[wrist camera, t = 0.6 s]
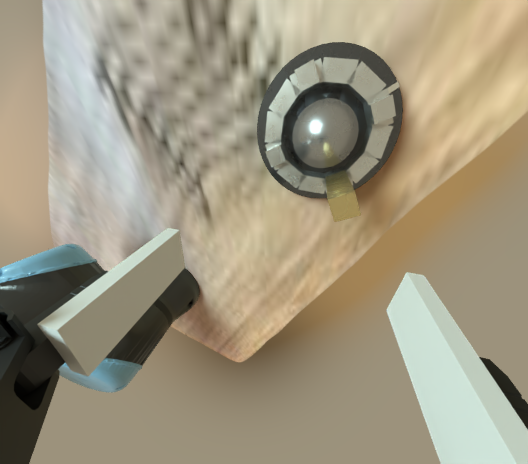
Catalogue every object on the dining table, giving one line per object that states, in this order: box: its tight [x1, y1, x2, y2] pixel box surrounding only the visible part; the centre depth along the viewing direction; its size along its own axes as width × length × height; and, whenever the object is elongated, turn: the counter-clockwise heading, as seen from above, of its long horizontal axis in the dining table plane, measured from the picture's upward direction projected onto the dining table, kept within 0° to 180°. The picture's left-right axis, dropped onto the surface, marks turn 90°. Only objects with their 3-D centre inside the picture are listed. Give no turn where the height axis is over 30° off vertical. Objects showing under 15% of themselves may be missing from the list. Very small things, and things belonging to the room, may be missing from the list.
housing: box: [257, 42, 403, 198], centre depth 26 cm, size 18×18×7 cm
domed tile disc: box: [265, 57, 396, 222], centre depth 22 cm, size 14×14×12 cm
